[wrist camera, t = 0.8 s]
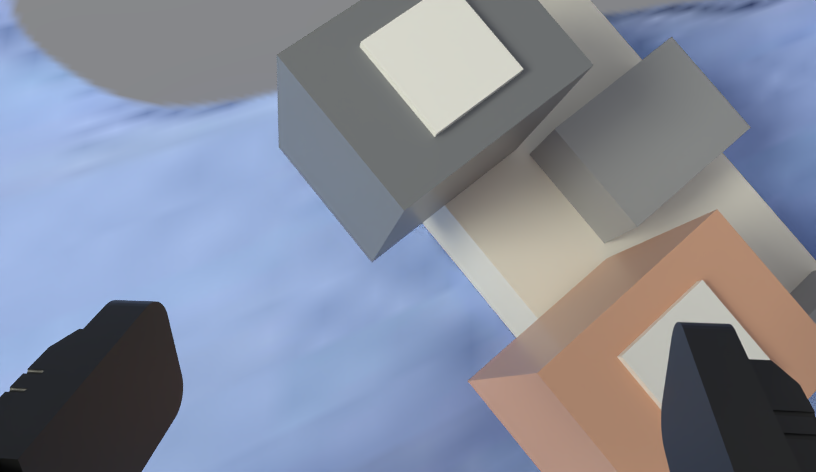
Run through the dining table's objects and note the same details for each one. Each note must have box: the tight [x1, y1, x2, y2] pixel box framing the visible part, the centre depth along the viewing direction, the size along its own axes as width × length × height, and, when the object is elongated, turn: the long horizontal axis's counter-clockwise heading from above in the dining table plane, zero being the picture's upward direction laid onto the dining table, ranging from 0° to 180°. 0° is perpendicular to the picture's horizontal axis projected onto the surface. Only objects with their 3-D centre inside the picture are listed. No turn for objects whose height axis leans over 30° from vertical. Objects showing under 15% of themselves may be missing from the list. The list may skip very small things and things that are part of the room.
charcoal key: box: [277, 0, 593, 262], centre depth 26 cm, size 6×8×8 cm
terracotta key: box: [468, 209, 816, 472], centre depth 25 cm, size 6×8×8 cm
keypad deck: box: [423, 0, 816, 338], centre depth 32 cm, size 21×12×7 cm, turn 40°
